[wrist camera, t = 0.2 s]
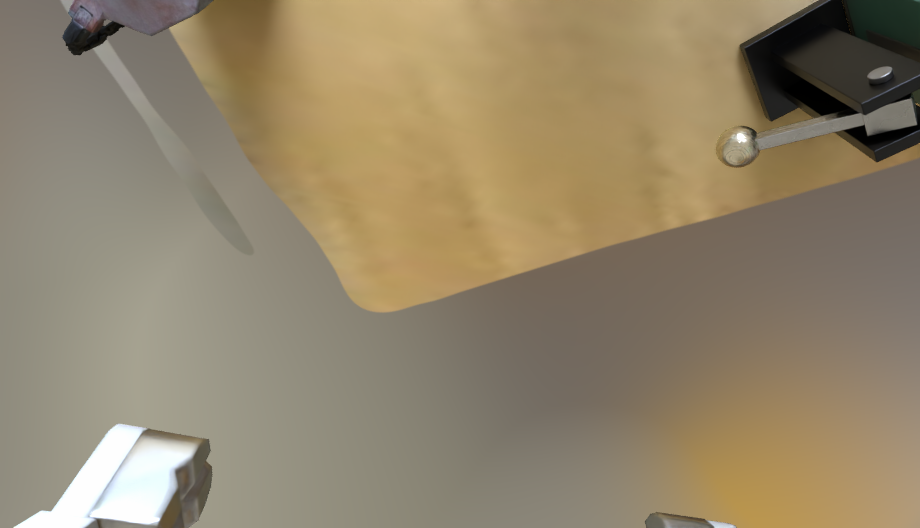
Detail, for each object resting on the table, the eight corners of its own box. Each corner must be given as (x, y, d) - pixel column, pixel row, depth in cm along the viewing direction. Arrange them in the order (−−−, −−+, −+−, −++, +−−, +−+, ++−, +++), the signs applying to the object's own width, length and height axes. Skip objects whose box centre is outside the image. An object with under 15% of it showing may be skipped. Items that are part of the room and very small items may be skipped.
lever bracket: (765, 117, 54) (854, 191, 41) (739, 45, 50) (826, 99, 37) (854, 72, 51) (979, 135, 38) (833, -9, 47) (963, 30, 34)
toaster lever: (726, 156, 49) (720, 179, 47) (713, 124, 47) (706, 147, 45) (917, 109, 40) (919, 136, 38) (908, 68, 38) (910, 94, 36)
